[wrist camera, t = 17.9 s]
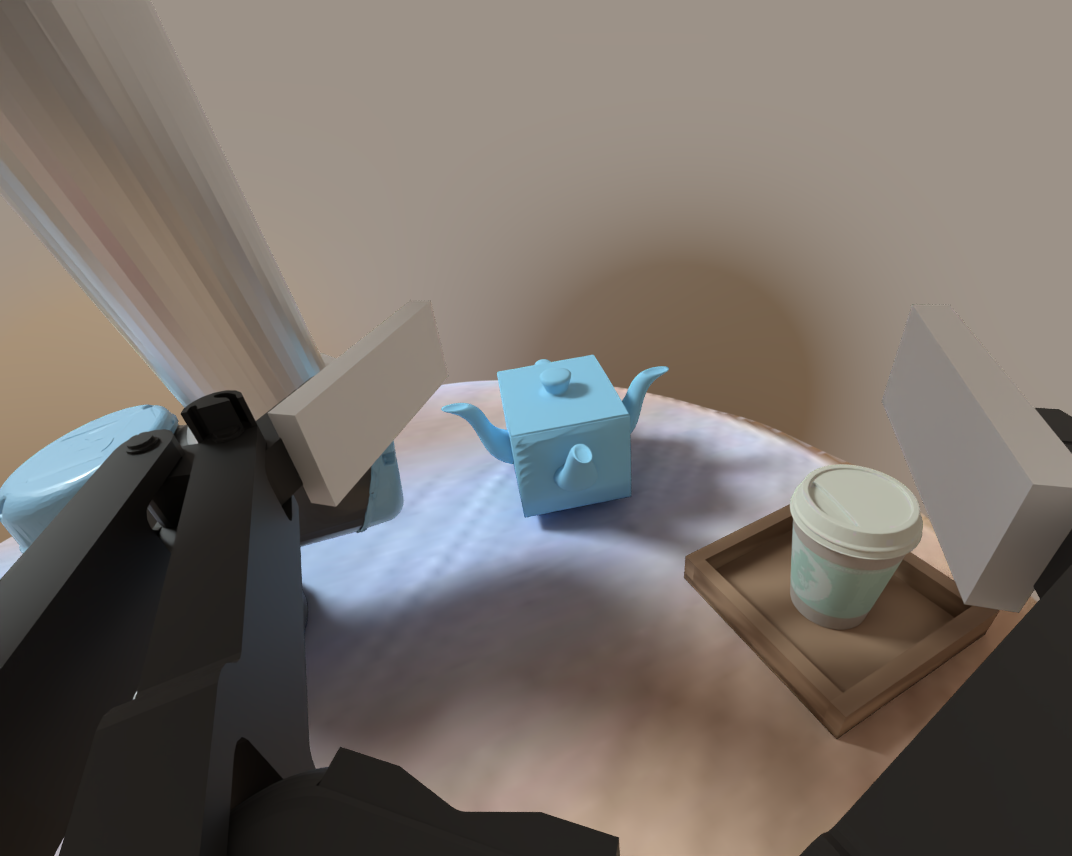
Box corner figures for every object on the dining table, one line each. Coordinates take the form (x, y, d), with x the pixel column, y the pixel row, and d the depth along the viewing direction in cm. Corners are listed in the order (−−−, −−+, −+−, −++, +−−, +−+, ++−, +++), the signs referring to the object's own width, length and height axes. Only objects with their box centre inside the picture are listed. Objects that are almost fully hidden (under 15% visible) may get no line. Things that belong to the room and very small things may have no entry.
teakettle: (547, 424, 73) (534, 327, 65) (672, 460, 63) (676, 352, 55) (458, 505, 61) (429, 399, 53) (595, 566, 51) (586, 447, 43)
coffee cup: (774, 553, 49) (794, 452, 42) (879, 573, 46) (919, 468, 39) (770, 629, 43) (793, 525, 36) (892, 659, 40) (941, 551, 33)
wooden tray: (684, 577, 49) (685, 556, 47) (811, 512, 54) (816, 490, 52) (836, 738, 36) (845, 717, 35) (985, 634, 41) (999, 610, 39)
